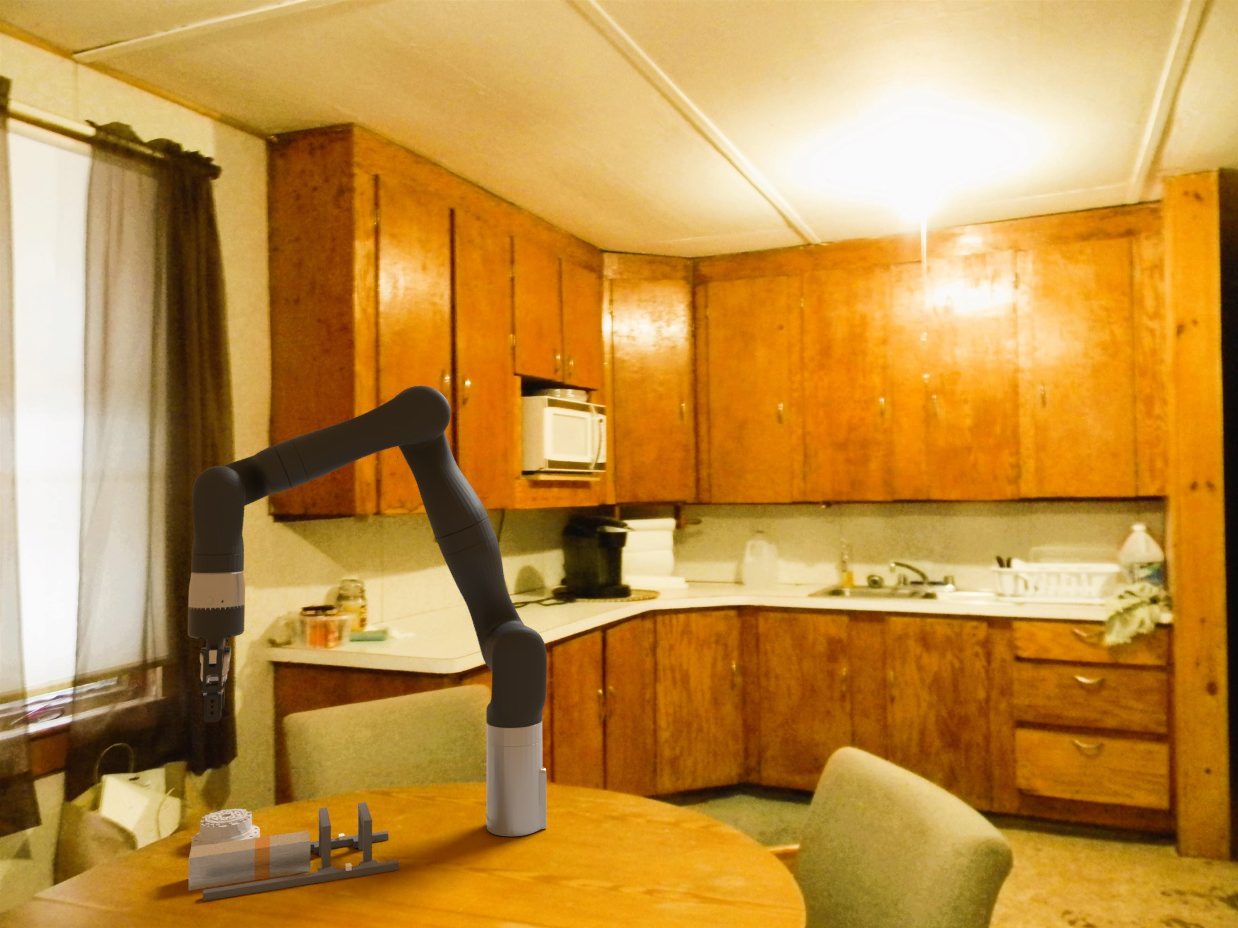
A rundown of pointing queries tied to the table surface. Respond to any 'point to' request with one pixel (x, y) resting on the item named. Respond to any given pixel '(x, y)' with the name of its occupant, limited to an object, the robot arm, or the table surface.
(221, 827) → the mechanical component
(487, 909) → the table surface
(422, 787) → the table surface
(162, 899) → the table surface
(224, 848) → the bar
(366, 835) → the collar frame
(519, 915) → the table surface
